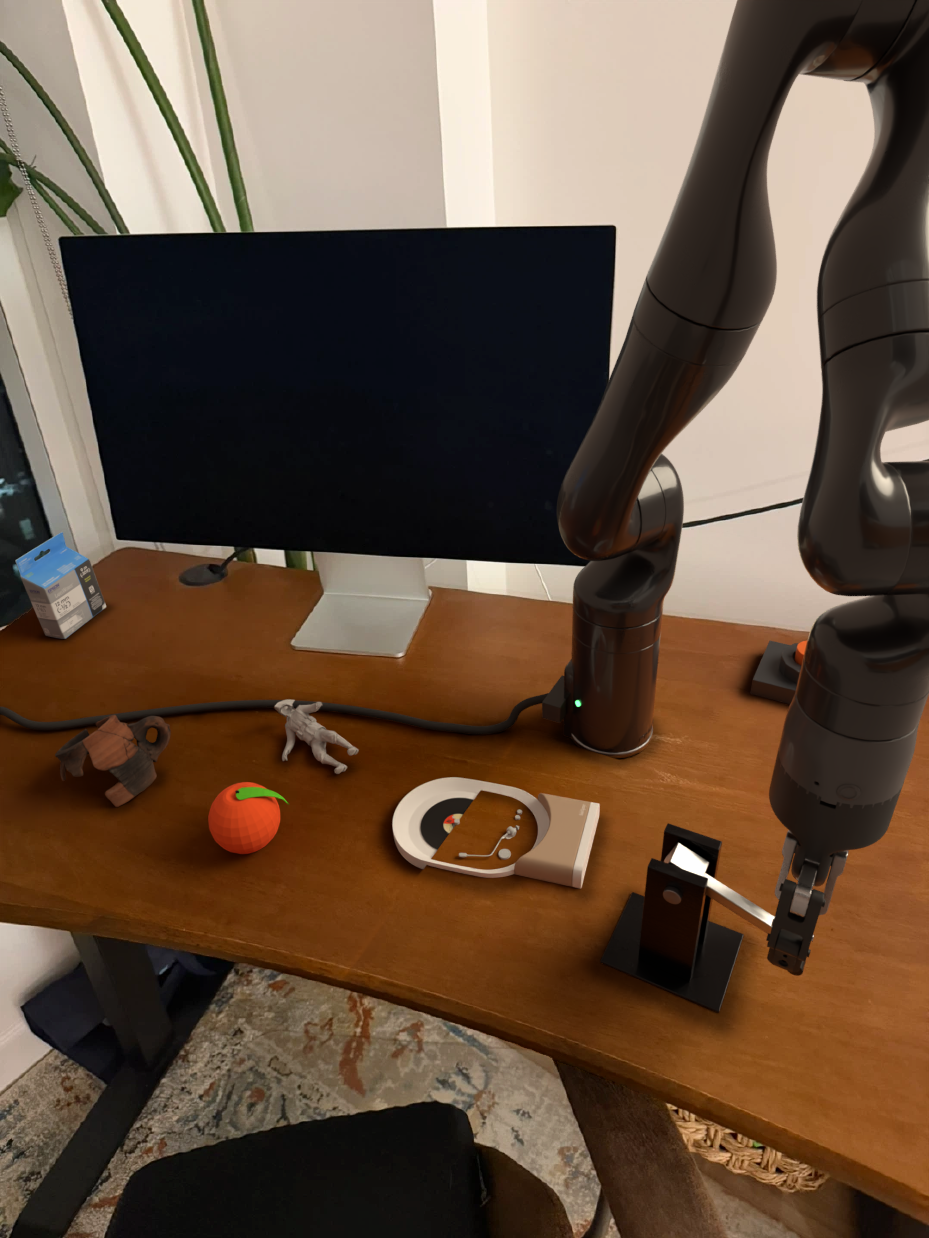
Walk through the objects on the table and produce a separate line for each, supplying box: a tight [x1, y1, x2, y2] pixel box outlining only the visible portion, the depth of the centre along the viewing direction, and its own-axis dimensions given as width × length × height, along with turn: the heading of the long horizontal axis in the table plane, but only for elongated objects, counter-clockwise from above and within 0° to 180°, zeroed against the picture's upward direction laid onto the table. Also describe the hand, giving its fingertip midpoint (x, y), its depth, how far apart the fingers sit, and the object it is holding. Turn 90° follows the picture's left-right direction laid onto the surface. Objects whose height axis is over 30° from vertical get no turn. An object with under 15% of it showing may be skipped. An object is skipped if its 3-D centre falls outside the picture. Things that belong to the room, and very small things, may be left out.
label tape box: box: [15, 531, 107, 640], centre depth 119 cm, size 9×4×12 cm, turn 159°
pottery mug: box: [54, 715, 172, 808], centre depth 94 cm, size 12×10×8 cm
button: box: [795, 640, 807, 665], centre depth 100 cm, size 4×4×2 cm
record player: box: [391, 776, 601, 890], centre depth 84 cm, size 12×3×20 cm
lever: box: [664, 843, 808, 977], centre depth 65 cm, size 12×5×2 cm, turn 61°
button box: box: [750, 640, 801, 705], centre depth 101 cm, size 11×9×4 cm
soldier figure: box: [273, 698, 360, 775], centre depth 96 cm, size 8×5×12 cm
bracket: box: [599, 823, 745, 1014], centre depth 69 cm, size 10×8×13 cm
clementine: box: [207, 781, 290, 855], centre depth 84 cm, size 8×7×7 cm
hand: (795, 918), depth 63 cm, fingers open, 8 cm apart
